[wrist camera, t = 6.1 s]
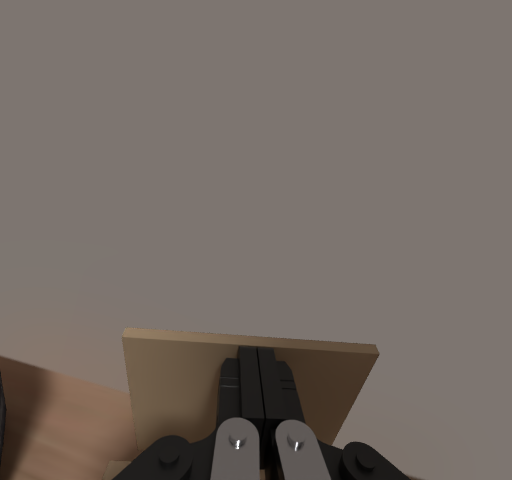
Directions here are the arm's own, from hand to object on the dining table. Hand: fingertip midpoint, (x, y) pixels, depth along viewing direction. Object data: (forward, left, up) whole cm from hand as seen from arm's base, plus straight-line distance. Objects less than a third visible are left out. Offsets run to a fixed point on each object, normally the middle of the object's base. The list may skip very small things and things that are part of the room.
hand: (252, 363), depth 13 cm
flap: (0, -3, -9) cm, 9 cm away
